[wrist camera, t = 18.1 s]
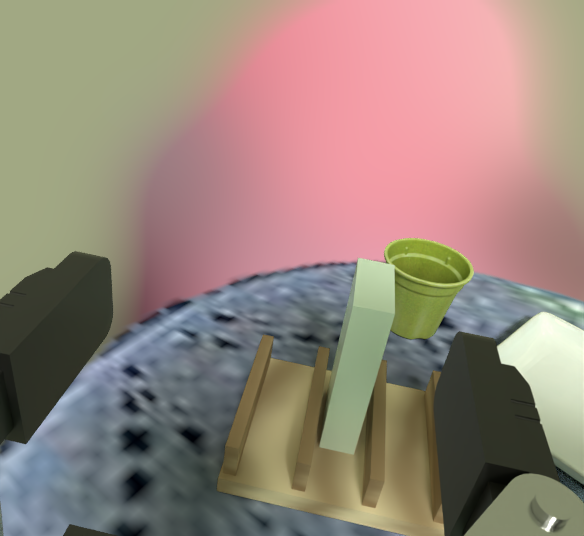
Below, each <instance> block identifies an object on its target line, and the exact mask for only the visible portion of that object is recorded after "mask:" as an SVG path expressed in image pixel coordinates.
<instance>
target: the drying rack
mask: <svg viewBox="0 0 584 536" xmlns="http://www.w3.org/2000/svg"><path fill="white" fill-rule="evenodd" d="M273 339H274V337H273V336H268V335H263V337H262V339H261V342H260V345H259V348H258V351H257V354H256V357H255V360H254V363H253V366H252V369H251V372H250V375H249V378H248V381H247V384H246V386H245V389H244V392H243V395H242V398H241V401H240V404H239V407H238V410H237V413H236V416H235V419H234V422H233V425H232V428H231V431H230V433H229V436H228V439H227V442H226V445H225V454H224V462H223V465H222V468H221V471H220V474H219V477H218V483H217V491H219V492H223V493H228V494H232V495H236V496H241V497H245V498H249V499H253V500H258V501H262V502H266V503H271V504H275V505H279V506H283V507H288V508H292V509H296V510H301V511H305V512H309V513H313V514H318V515H322V516H326V517H330V518H335V519H339V520H343V521H348V522H352V523H356V524H360V525H365V526H369V527H373V528H378V529H382V530H386V531H390V532H395V533H399V534H403V535H408V536H445V535H444V524H443V512H442V501H441V490H440V478H439V467H438V455H437V444H436V432H435V421H434V396H435V390H436V386H437V383H438V380H439V377H440V374H441V372H438V371H433V372H432V375H431V378H430V380H429V383H428V386H427V389H426V391H422V390H418V389H413V388H408V387H404V386H399V385H394V384H390V383H386V369H387V361H386V360H381V364H380V367H379V370H378V374H377V377H376V381H375V384H374V387H373V391H372V394H371V398H370V401H369V404H368V408H367V411H366V415H365V418H364V421H363V425H362V428H361V432H360V435H359V439H358V442H357V445H356V449H355V452H354V455H352V454H348V453H343V452H339V451H334V450H330V449H325V448H321V447H319V444H320V438H321V431H322V424H323V417H324V410H325V403H326V396H327V390H328V385H329V381H330V377H331V373H332V371H329V370H327V363H328V357H329V351H330V349H329V348H325V347H320V346H319V349H318V354H317V358H316V363H315V367H311V366H306V365H301V364H297V363H292V362H287V361H283V360H278V359H273V358H271V353H272V346H273Z"/></svg>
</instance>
